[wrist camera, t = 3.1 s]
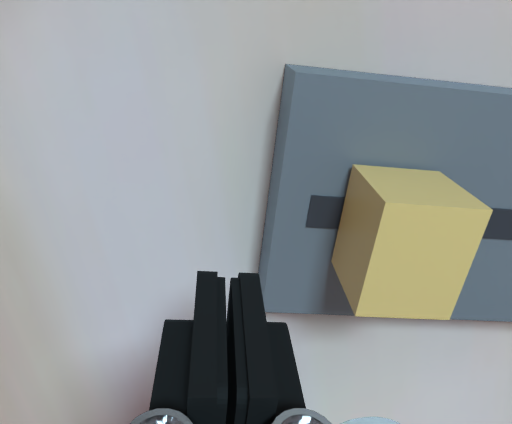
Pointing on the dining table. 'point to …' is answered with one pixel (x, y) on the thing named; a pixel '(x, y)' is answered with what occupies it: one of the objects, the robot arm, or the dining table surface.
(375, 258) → the fader knob
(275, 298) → the board
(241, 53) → the dining table surface
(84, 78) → the dining table surface
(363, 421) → the light blue cylinder
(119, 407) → the dining table surface
